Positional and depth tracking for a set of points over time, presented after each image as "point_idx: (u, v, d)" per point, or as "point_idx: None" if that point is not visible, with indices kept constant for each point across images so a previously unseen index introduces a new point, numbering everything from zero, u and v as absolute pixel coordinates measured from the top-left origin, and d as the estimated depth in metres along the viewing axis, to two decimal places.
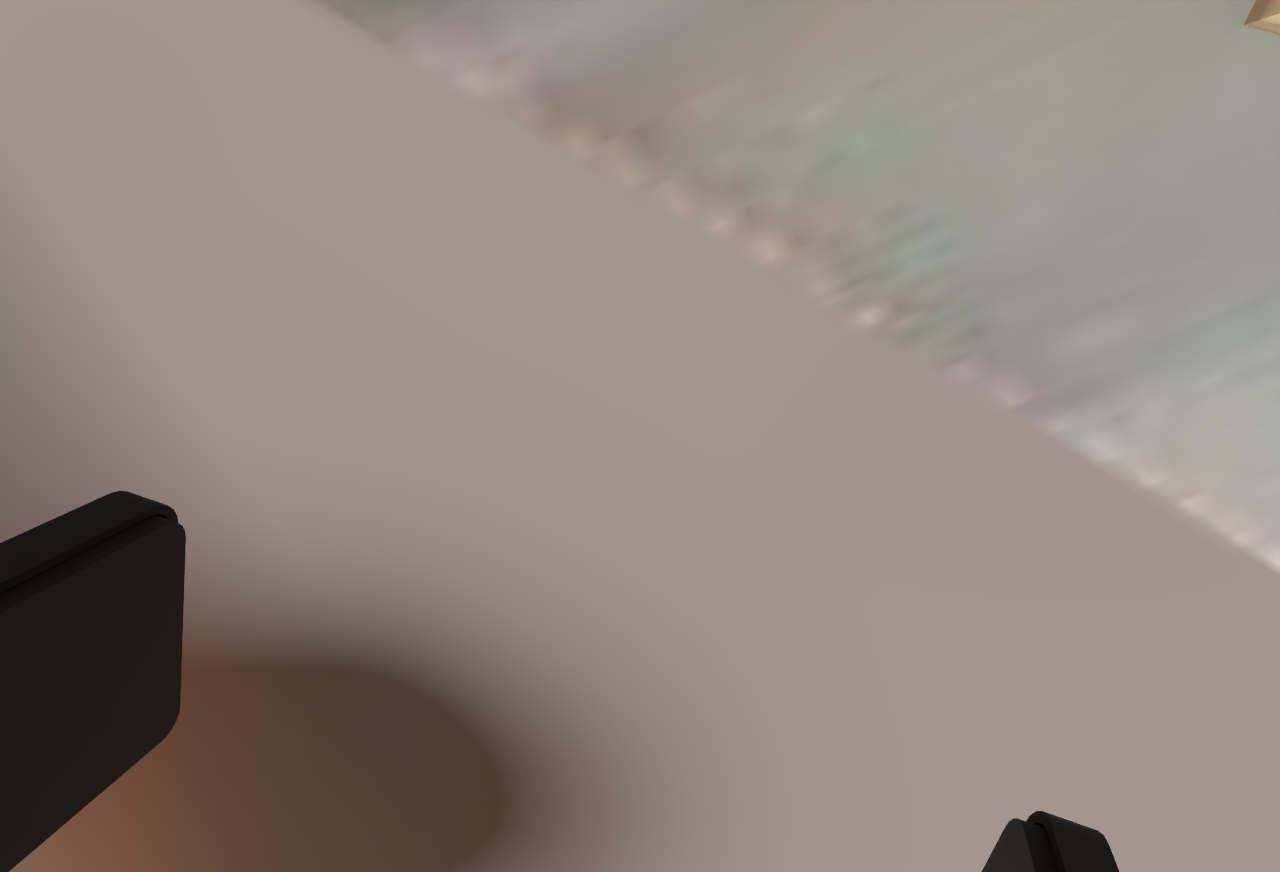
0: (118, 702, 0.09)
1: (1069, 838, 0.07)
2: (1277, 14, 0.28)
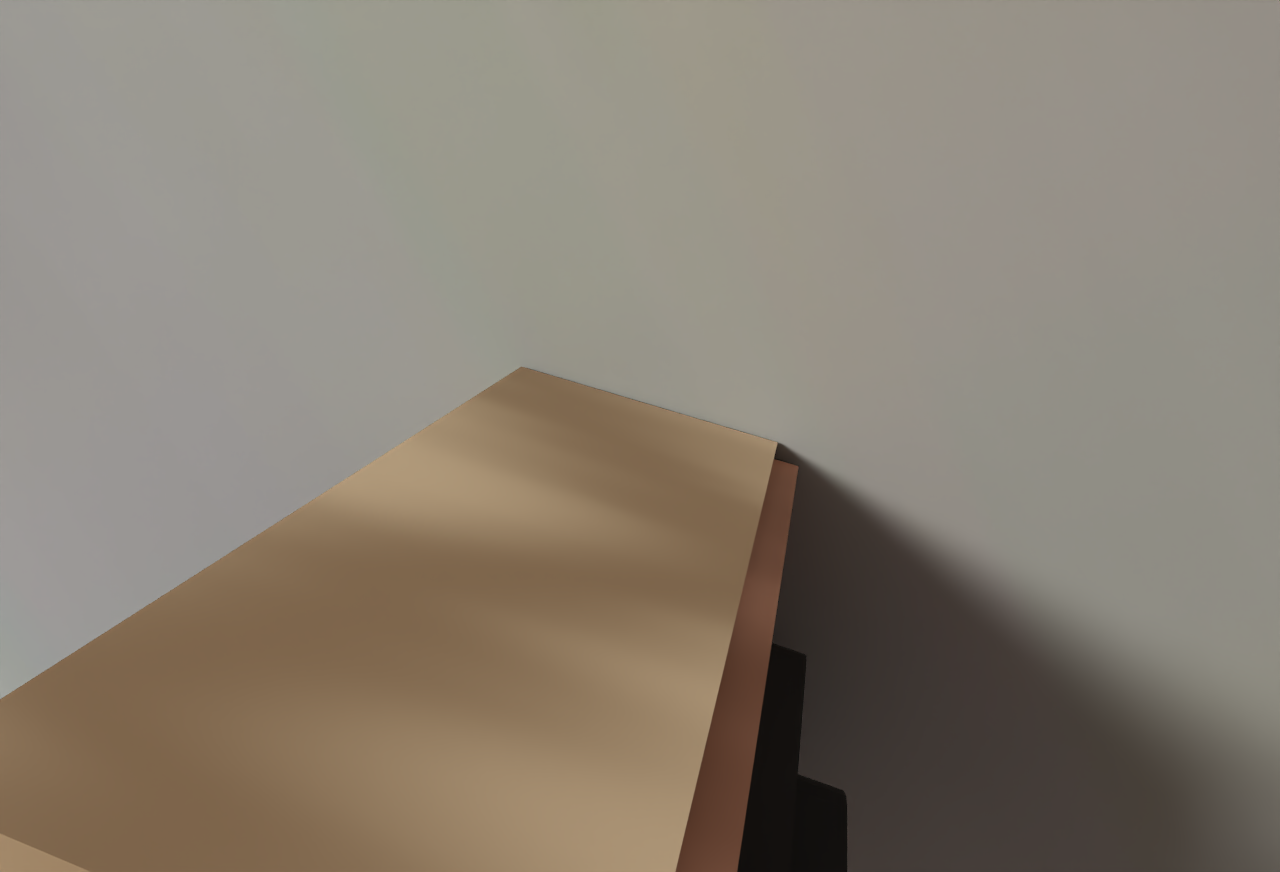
0: None
1: (772, 655, 0.09)
2: (420, 435, 0.07)
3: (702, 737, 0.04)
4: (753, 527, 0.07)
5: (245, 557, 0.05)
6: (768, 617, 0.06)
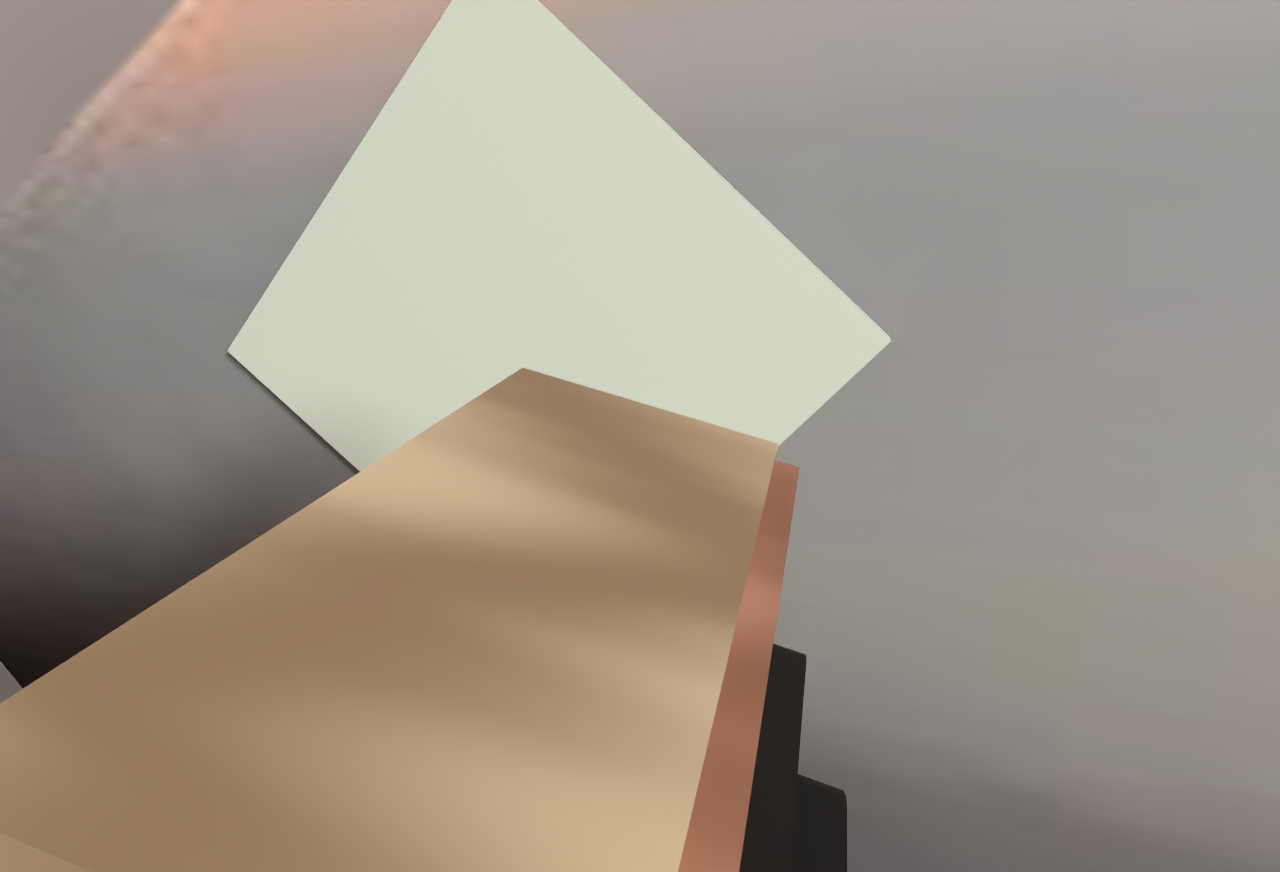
0: None
1: (772, 655, 0.09)
2: (421, 436, 0.07)
3: (704, 739, 0.05)
4: (754, 528, 0.07)
5: (248, 559, 0.05)
6: (769, 619, 0.06)
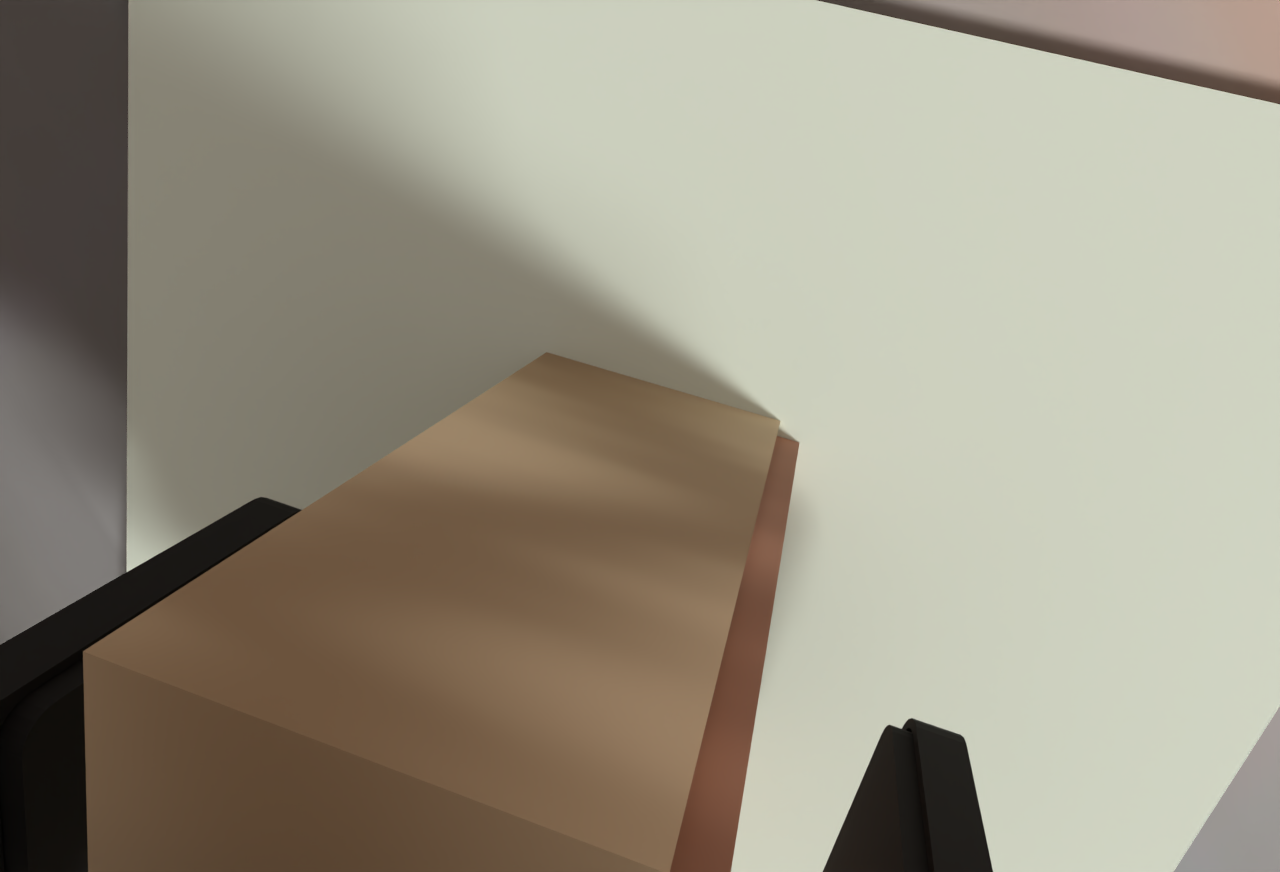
0: None
1: (930, 738, 0.08)
2: (463, 409, 0.08)
3: (720, 646, 0.05)
4: (759, 490, 0.08)
5: (332, 503, 0.06)
6: (773, 563, 0.07)
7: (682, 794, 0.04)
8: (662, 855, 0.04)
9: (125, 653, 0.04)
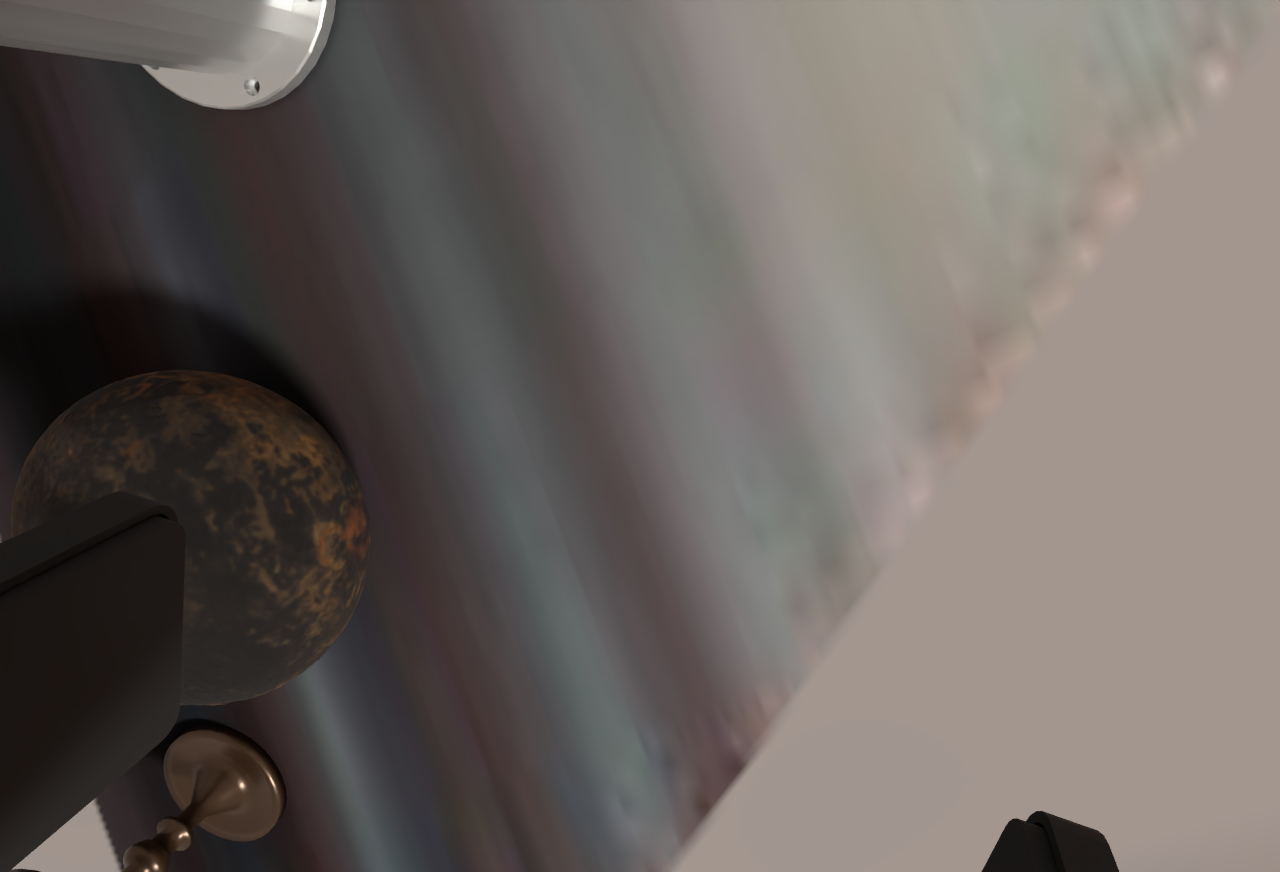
0: (118, 702, 0.09)
1: (1070, 838, 0.07)
2: None
3: None
4: None
5: None
6: None
7: None
8: None
9: None
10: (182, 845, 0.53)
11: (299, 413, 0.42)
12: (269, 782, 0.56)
